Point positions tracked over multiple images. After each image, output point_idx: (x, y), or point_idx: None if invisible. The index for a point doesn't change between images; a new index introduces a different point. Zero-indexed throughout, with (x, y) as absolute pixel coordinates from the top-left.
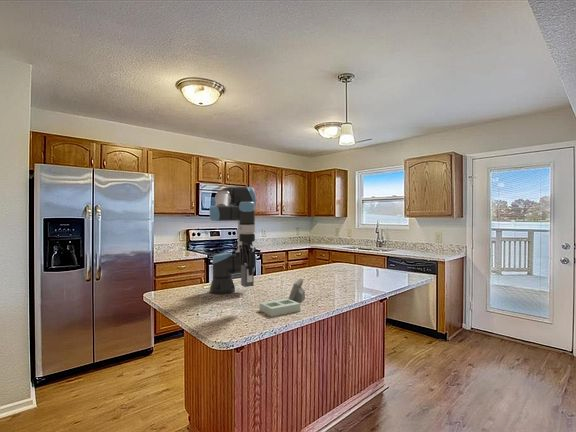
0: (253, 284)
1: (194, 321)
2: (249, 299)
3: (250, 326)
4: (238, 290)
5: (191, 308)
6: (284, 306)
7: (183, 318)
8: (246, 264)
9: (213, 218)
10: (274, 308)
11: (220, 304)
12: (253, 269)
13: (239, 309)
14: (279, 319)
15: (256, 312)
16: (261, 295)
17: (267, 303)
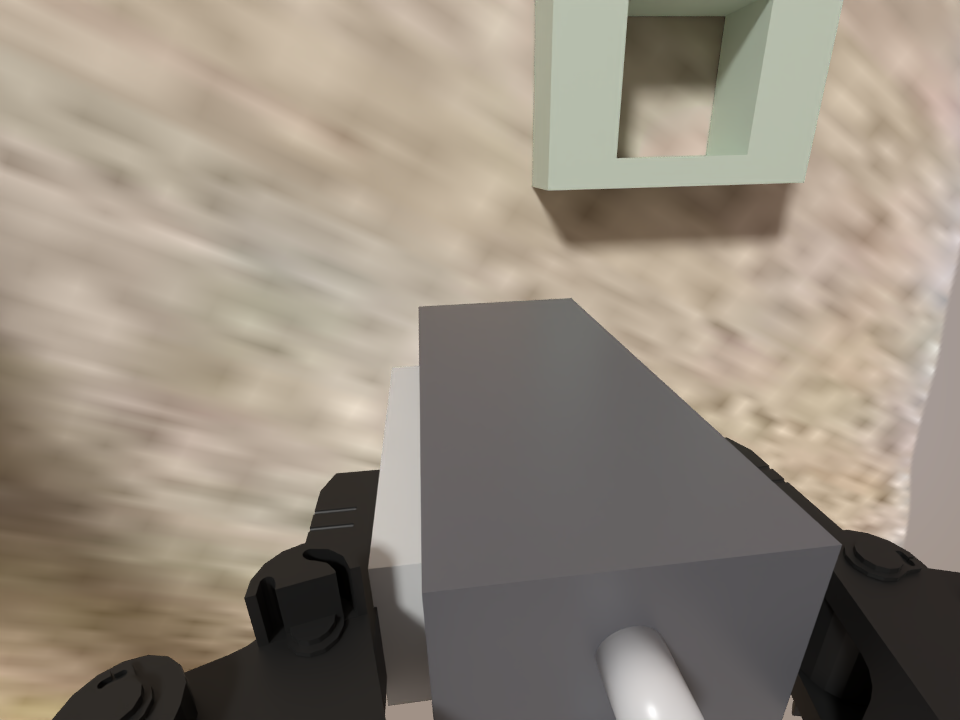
0: (578, 306)
1: None
2: (47, 75)
3: (807, 408)
4: None
5: (206, 613)
6: (841, 3)
7: None
8: (461, 703)
9: None
10: (809, 149)
11: (167, 421)
12: (730, 443)
13: (408, 334)
14: (855, 162)
15: (574, 243)
16: None
17: (616, 117)
